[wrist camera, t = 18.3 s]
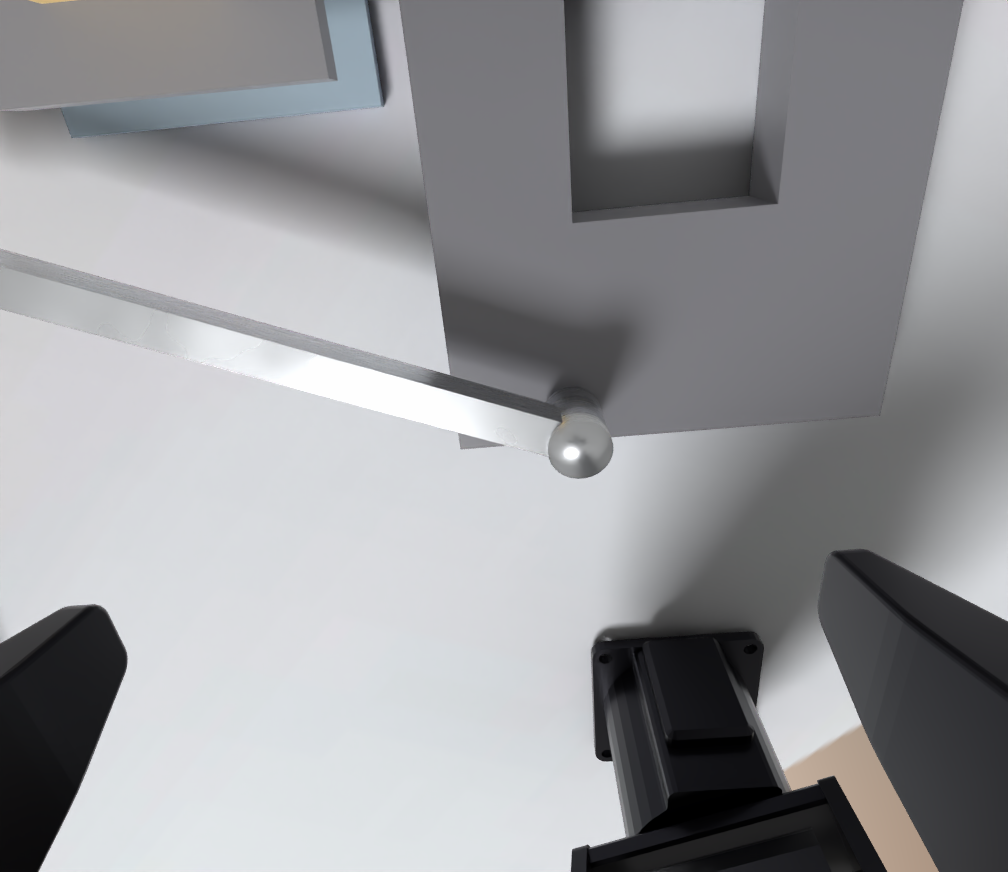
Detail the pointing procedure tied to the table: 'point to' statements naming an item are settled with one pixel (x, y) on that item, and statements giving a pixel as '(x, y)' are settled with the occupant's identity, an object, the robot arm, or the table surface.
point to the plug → (156, 49)
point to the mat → (255, 90)
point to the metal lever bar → (310, 363)
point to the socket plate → (681, 220)
